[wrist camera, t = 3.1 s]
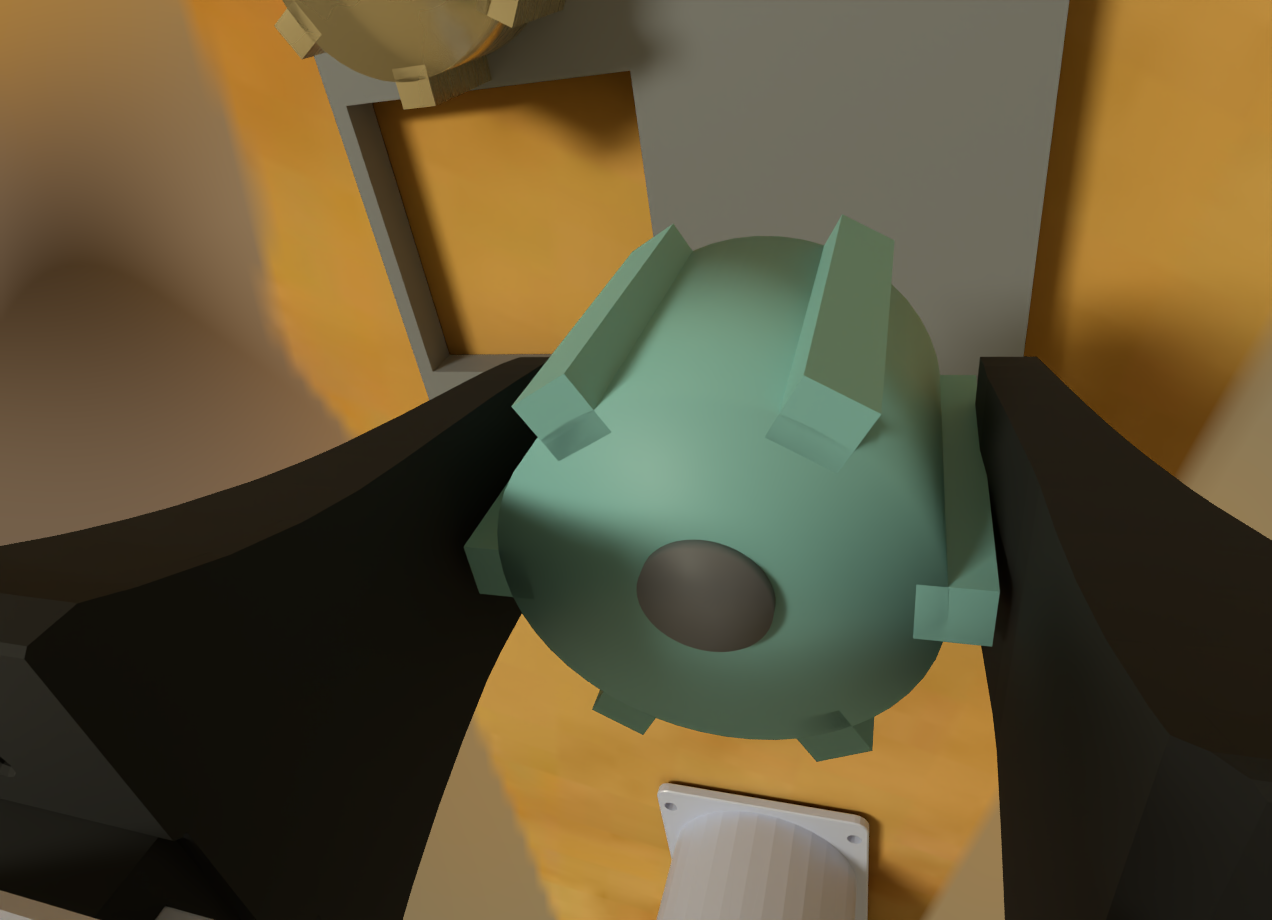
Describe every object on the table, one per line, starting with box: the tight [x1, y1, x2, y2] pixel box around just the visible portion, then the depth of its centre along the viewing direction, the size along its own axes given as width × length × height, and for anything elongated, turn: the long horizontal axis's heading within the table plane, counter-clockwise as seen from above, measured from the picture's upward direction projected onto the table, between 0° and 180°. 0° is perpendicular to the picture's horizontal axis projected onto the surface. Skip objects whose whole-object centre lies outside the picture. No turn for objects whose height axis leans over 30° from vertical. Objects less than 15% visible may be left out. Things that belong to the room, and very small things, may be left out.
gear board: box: [275, 0, 1069, 400], centre depth 17 cm, size 20×15×4 cm
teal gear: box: [464, 214, 1000, 762], centre depth 10 cm, size 5×5×4 cm
